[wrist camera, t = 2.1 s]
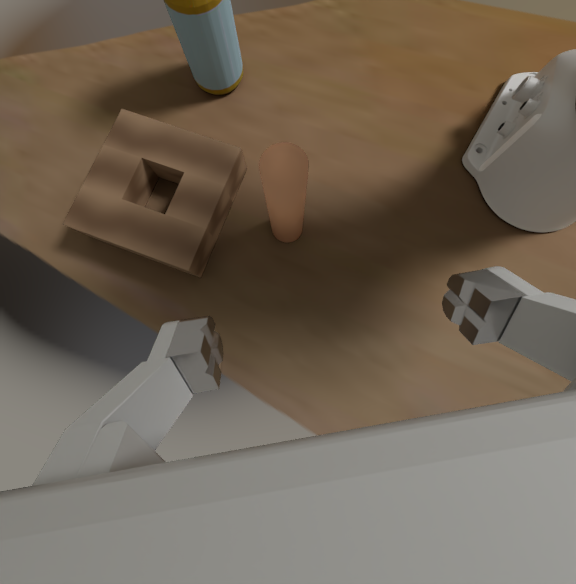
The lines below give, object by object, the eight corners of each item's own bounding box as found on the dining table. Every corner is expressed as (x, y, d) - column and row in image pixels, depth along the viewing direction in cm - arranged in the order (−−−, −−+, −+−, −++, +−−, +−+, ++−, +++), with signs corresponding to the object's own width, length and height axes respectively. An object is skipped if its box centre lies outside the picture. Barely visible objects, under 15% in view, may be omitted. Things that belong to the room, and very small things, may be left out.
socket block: (140, 132, 36) (121, 108, 32) (247, 168, 35) (241, 147, 31) (89, 236, 34) (62, 224, 30) (200, 277, 33) (188, 270, 29)
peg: (278, 209, 34) (269, 136, 21) (306, 219, 34) (315, 151, 21) (267, 236, 33) (251, 178, 21) (296, 246, 33) (298, 194, 20)
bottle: (185, 82, 37) (114, -84, 22) (215, 47, 38) (165, -135, 23) (224, 106, 36) (177, -48, 21) (253, 70, 37) (227, -102, 22)
